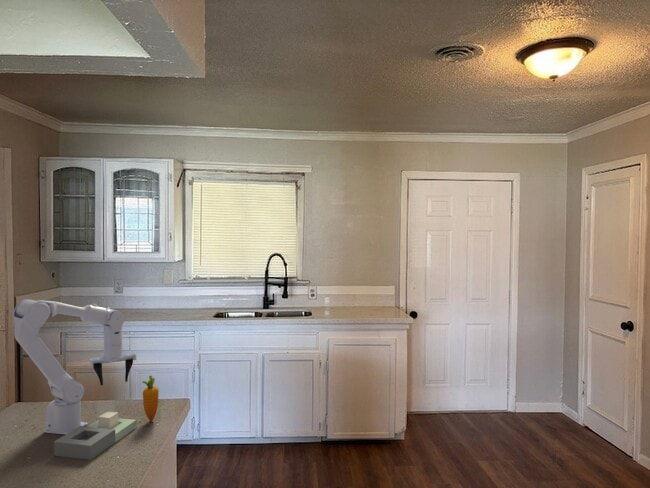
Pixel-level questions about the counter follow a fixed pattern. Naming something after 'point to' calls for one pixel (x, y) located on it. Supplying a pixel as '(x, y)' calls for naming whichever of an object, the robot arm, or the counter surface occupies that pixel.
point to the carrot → (150, 398)
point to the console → (91, 439)
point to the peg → (108, 420)
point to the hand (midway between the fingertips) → (114, 382)
